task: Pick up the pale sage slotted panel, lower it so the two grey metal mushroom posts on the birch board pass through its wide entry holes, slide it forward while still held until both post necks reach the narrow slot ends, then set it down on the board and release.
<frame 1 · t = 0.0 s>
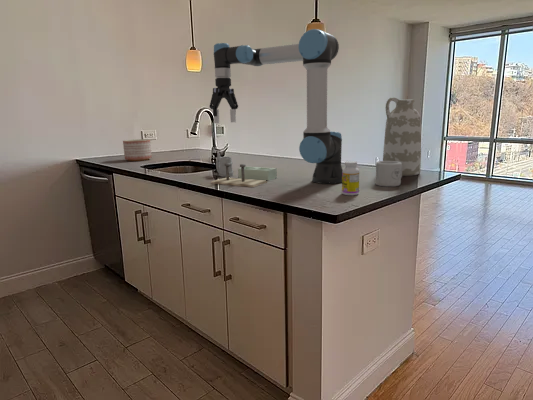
hand: (225, 122, 194), 28 cm above the counter, fingers open, 13 cm apart
vase: (399, 173, 203), on the counter
mug 2: (390, 184, 174), on the counter
keyhole panel: (257, 178, 199), on the counter
supplement bottle: (350, 194, 156), on the counter
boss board: (239, 183, 187), on the counter
mug: (223, 175, 211), on the counter
planter: (138, 160, 294), on the counter
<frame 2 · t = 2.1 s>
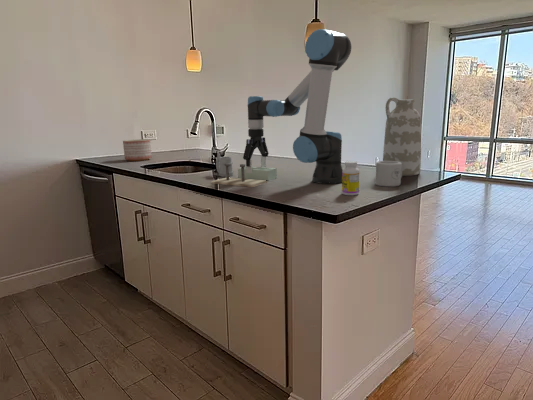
hand: (256, 171, 199), 4 cm above the counter, fingers open, 13 cm apart
nothing on the counter moved.
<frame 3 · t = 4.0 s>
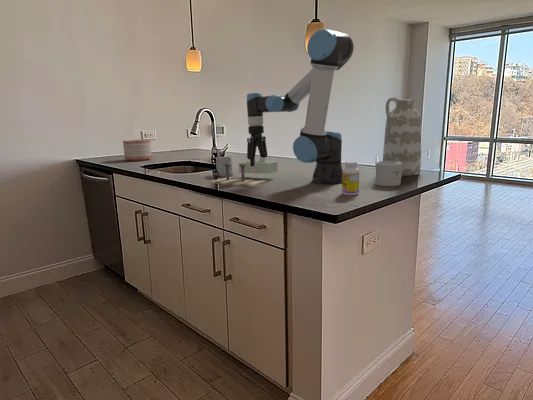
hand: (258, 171, 198), 4 cm above the counter, fingers closed on keyhole panel, 8 cm apart
keyhole panel: (258, 172, 198), point 3 cm above the counter, touching gripper
everything else where it was.
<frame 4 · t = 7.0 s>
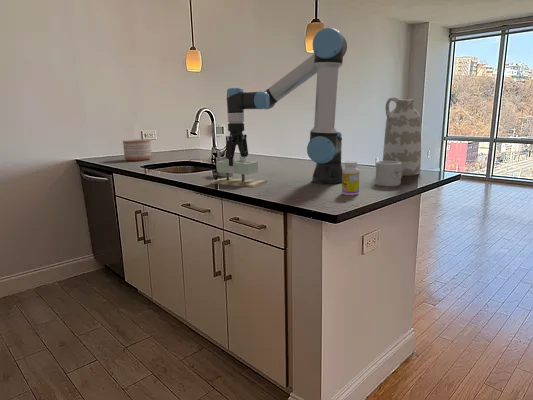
hand: (237, 171, 186), 6 cm above the counter, fingers closed on keyhole panel, 8 cm apart
keyhole panel: (237, 172, 186), point 5 cm above the counter, touching gripper
everything else where it was.
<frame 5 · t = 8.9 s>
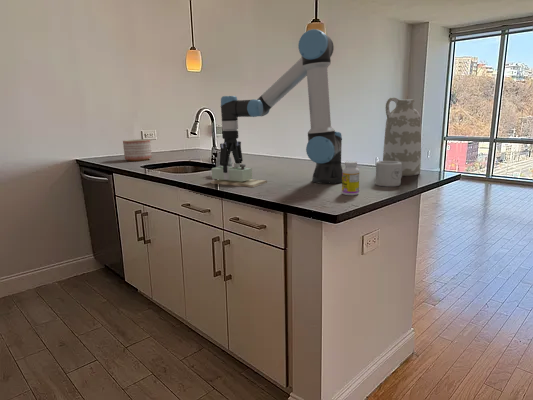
hand: (232, 178, 189), 2 cm above the counter, fingers closed on keyhole panel, 8 cm apart
keyhole panel: (231, 178, 189), point 2 cm above the counter, touching gripper
everything else where it was.
when the fingers open (1 cm above the counter, at t = 10.1 s): keyhole panel stays where it is, resting on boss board.
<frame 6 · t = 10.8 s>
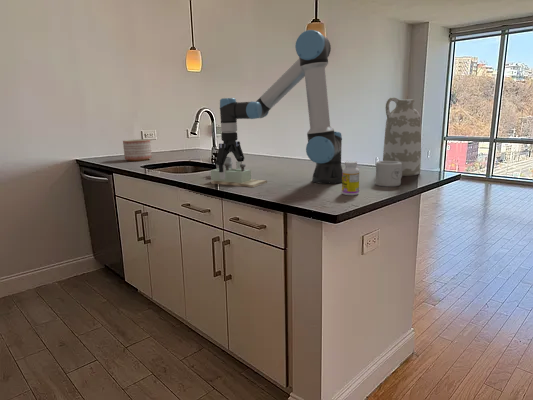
hand: (231, 176, 189), 3 cm above the counter, fingers open, 13 cm apart
keyhole panel: (231, 180, 189), point 1 cm above the counter, touching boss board
everything else where it was.
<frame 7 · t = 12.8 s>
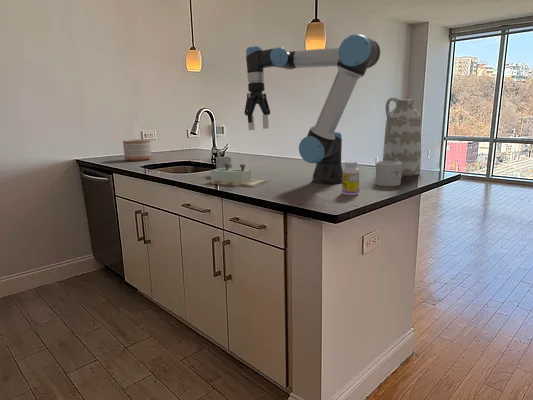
hand: (259, 129, 185), 25 cm above the counter, fingers open, 13 cm apart
nothing on the counter moved.
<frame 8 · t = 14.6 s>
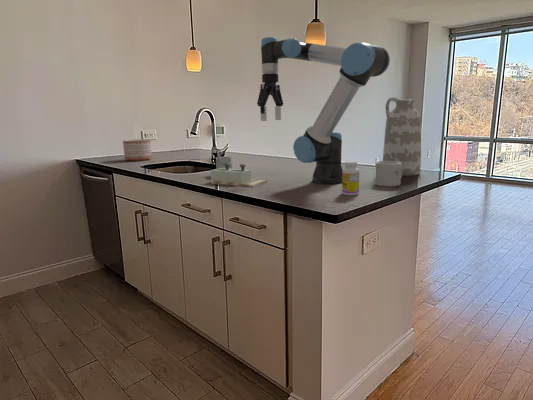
hand: (271, 120, 186), 29 cm above the counter, fingers open, 13 cm apart
nothing on the counter moved.
at the end: keyhole panel 0.3 cm from the target spot on the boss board, point 1.0 cm above the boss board's base; keyhole panel tilted 0°; the gripper is holding nothing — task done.
